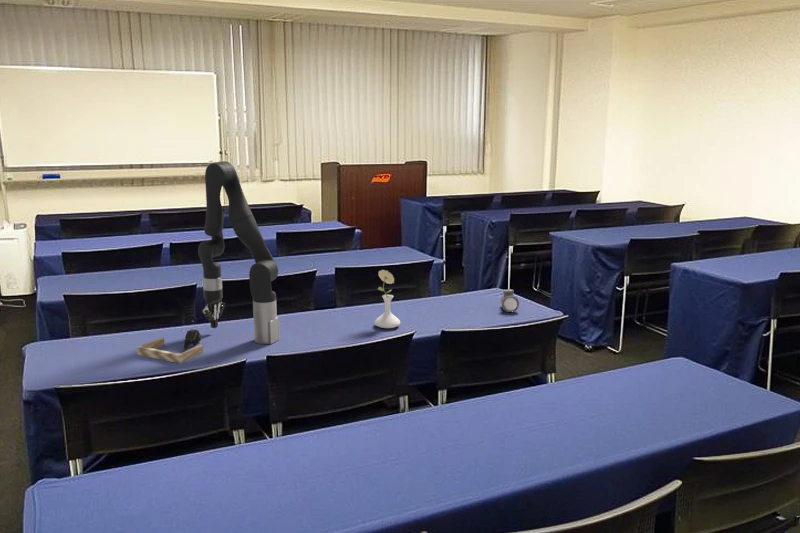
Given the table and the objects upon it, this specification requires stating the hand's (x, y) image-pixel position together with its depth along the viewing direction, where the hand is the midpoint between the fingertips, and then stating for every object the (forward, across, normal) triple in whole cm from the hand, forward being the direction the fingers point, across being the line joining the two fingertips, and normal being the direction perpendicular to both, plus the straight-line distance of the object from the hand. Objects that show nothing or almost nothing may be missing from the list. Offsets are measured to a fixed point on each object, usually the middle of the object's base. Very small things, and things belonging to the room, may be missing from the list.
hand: (214, 327), depth 269 cm
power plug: (+3, -18, -2) cm, 18 cm away
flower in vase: (+2, +41, -61) cm, 73 cm away
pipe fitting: (+1, +89, -103) cm, 137 cm away
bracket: (+3, -25, 0) cm, 25 cm away
